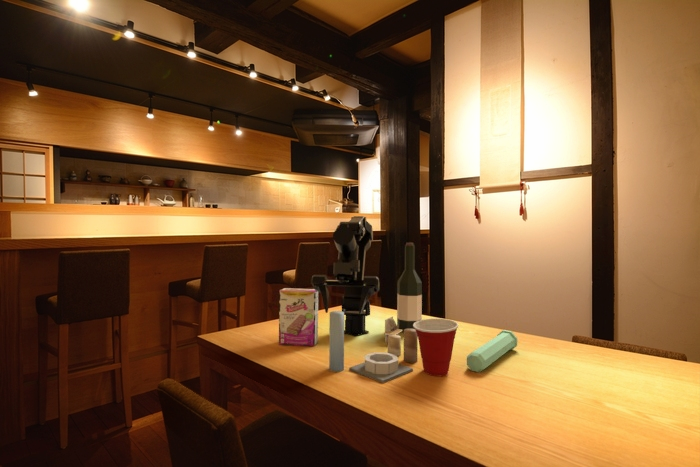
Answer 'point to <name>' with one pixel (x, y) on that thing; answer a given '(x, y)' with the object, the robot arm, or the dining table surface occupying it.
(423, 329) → the plastic cup
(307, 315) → the candy bar box
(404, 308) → the wine bottle
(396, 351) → the short dowel
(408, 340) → the medium dowel
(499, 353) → the container
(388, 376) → the socket
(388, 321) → the architectural model
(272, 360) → the dining table surface
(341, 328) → the long dowel
